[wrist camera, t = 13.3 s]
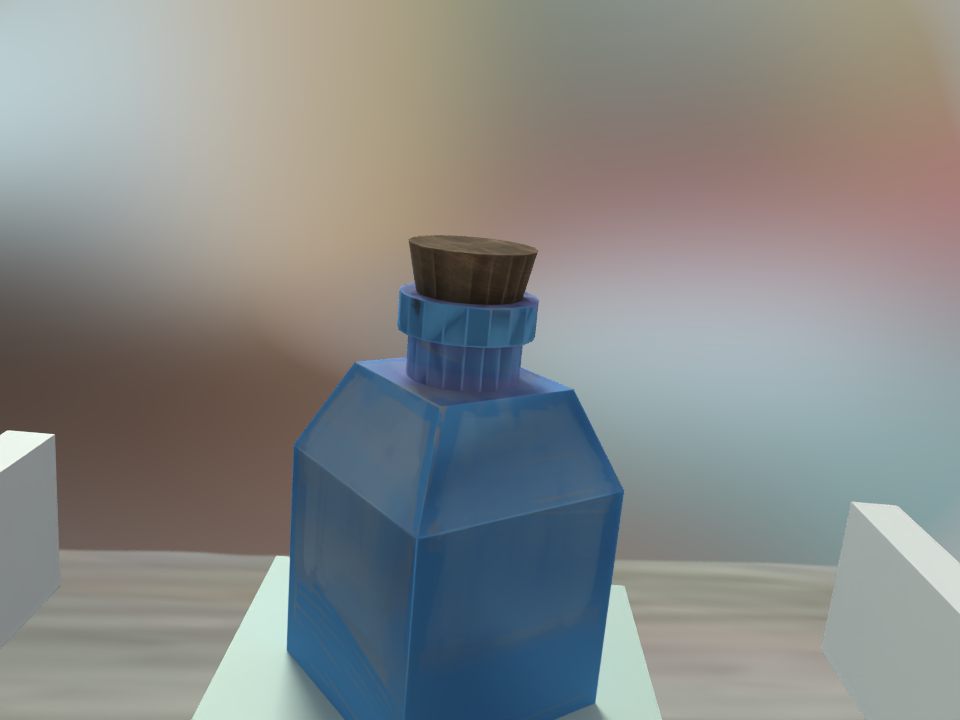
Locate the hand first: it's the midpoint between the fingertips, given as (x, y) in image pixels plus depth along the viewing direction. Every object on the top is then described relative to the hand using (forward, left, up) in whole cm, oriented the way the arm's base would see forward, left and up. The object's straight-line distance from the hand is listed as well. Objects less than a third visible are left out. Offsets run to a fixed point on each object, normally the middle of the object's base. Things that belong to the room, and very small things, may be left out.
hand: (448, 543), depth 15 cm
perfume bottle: (0, +8, -8) cm, 12 cm away
